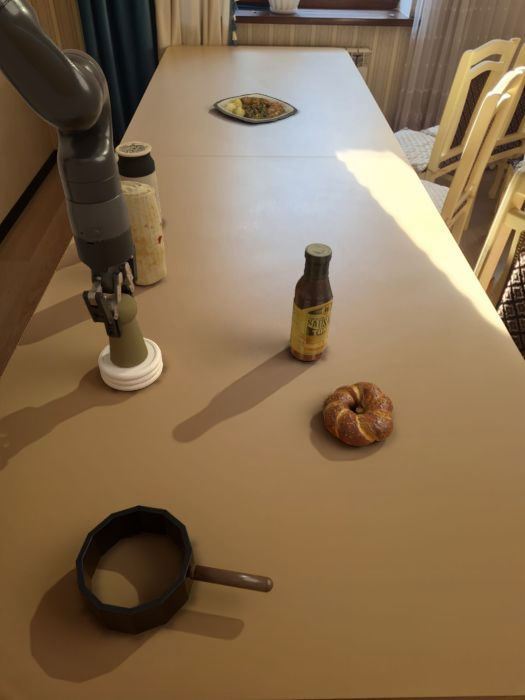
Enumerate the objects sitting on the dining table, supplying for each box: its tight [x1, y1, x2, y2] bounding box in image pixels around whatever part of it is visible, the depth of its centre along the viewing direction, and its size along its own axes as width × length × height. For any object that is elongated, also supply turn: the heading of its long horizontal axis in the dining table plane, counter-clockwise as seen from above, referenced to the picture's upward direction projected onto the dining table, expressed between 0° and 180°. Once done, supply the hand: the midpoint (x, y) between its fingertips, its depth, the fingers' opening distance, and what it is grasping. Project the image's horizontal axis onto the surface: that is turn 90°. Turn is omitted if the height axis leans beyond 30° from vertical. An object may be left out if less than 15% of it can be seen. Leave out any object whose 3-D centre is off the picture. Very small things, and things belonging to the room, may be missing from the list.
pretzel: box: [321, 381, 394, 447], centre depth 80 cm, size 12×11×4 cm
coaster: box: [97, 337, 164, 392], centre depth 88 cm, size 10×10×4 cm
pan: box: [75, 504, 274, 635], centre depth 61 cm, size 22×12×5 cm, turn 80°
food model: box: [121, 181, 168, 286], centre depth 102 cm, size 10×7×20 cm
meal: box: [212, 92, 299, 124], centre depth 184 cm, size 25×25×3 cm
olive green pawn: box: [108, 293, 148, 368], centre depth 83 cm, size 6×6×11 cm
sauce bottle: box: [289, 242, 334, 362], centre depth 86 cm, size 7×6×20 cm
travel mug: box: [114, 140, 163, 226], centre depth 119 cm, size 8×8×18 cm
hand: (122, 323), depth 82 cm, fingers closed on olive green pawn, 5 cm apart
